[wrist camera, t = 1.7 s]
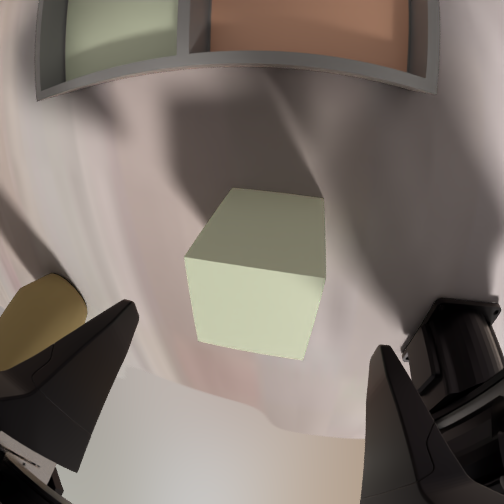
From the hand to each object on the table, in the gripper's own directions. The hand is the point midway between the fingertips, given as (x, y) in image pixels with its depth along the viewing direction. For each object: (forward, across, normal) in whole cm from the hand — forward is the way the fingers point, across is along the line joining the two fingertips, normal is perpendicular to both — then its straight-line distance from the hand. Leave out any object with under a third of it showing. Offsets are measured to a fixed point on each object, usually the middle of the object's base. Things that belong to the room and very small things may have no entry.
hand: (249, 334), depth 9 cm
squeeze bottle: (+7, +20, +10) cm, 24 cm away
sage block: (+7, 0, 0) cm, 7 cm away
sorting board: (+7, +4, -13) cm, 15 cm away
